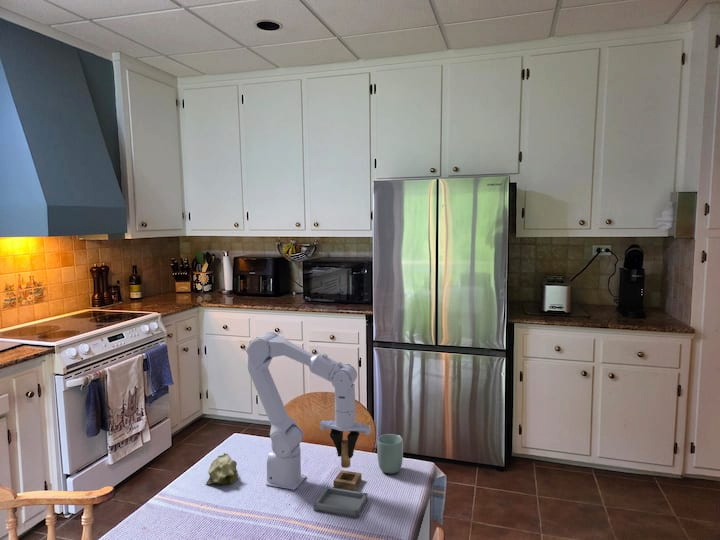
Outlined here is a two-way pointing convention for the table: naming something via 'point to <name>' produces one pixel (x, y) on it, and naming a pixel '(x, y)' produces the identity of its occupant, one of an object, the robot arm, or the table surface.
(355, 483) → the socket
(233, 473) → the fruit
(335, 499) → the tray
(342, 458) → the pin
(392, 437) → the cup
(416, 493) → the table surface
